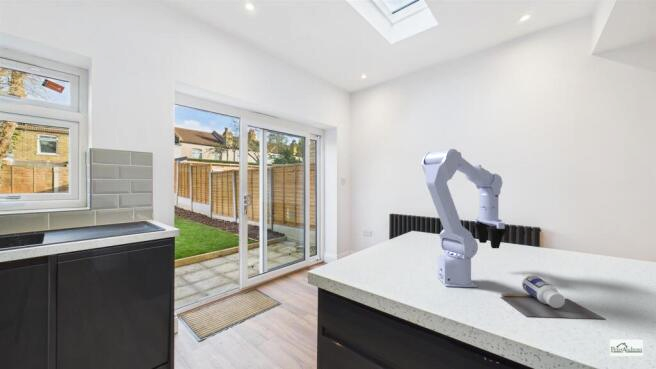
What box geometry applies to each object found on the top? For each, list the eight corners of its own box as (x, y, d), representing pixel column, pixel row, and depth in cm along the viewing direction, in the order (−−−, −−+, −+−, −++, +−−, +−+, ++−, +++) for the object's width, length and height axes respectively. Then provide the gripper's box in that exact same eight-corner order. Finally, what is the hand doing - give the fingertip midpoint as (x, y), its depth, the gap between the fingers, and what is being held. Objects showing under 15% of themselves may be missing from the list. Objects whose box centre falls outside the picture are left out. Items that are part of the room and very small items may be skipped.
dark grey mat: (526, 316, 61) (526, 314, 61) (497, 295, 72) (497, 293, 72) (605, 319, 59) (605, 316, 59) (563, 297, 71) (563, 295, 71)
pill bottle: (535, 294, 72) (561, 313, 64) (518, 288, 72) (542, 306, 64) (543, 278, 72) (571, 295, 63) (526, 272, 72) (551, 288, 63)
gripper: (514, 209, 81) (514, 251, 81) (488, 205, 95) (488, 240, 95) (491, 209, 81) (491, 250, 81) (469, 205, 96) (469, 240, 96)
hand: (488, 245), depth 88 cm, fingers open, 7 cm apart
